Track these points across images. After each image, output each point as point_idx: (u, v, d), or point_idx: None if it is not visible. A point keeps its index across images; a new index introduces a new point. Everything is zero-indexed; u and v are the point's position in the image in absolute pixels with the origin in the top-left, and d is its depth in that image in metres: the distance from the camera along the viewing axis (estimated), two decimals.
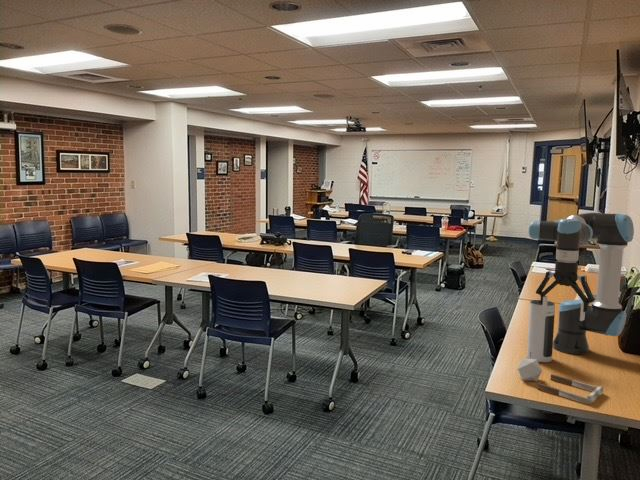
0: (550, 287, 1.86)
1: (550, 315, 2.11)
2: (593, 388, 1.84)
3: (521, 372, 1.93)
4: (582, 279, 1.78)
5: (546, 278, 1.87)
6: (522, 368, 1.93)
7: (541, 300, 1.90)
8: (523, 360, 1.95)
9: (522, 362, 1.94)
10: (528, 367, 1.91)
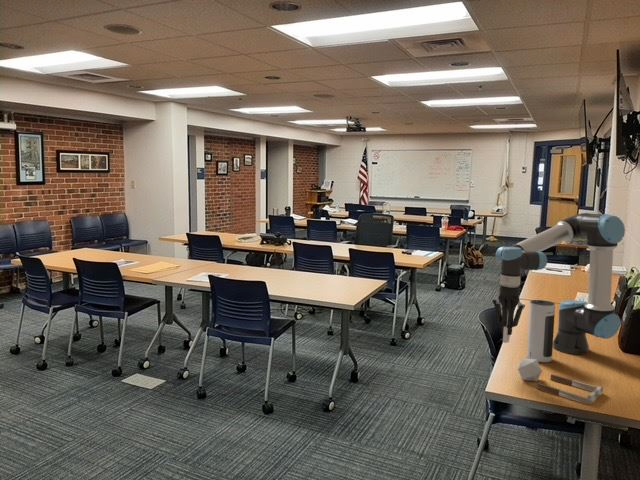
0: (503, 314, 1.99)
1: (550, 315, 2.11)
2: (593, 388, 1.84)
3: (521, 372, 1.93)
4: (520, 307, 1.94)
5: (496, 305, 2.01)
6: (522, 368, 1.93)
7: (502, 330, 2.01)
8: (523, 360, 1.95)
9: (522, 362, 1.94)
10: (528, 367, 1.91)
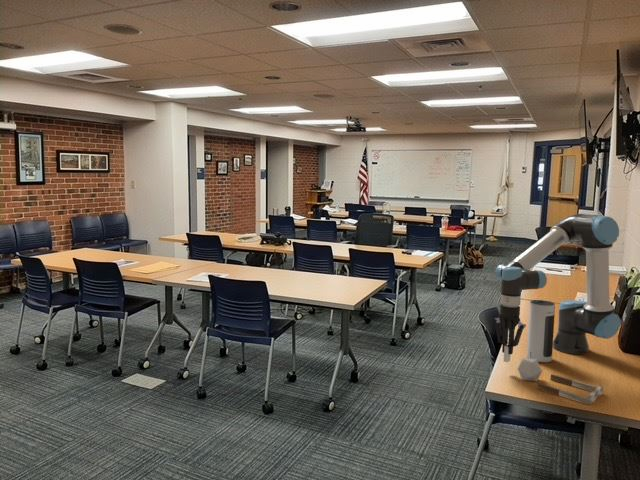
0: (504, 333, 2.00)
1: (550, 315, 2.11)
2: (593, 388, 1.84)
3: (521, 372, 1.93)
4: (520, 327, 1.95)
5: (496, 325, 2.02)
6: (522, 368, 1.93)
7: (503, 349, 2.01)
8: (523, 360, 1.95)
9: (522, 362, 1.94)
10: (528, 367, 1.91)
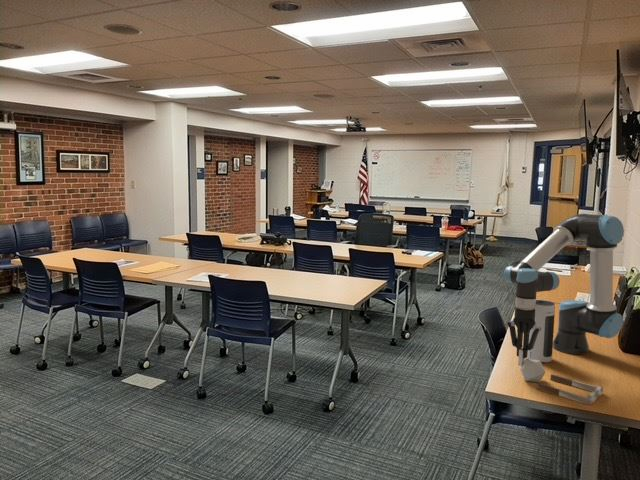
0: (518, 336, 1.95)
1: (550, 315, 2.11)
2: (593, 388, 1.84)
3: (524, 373, 1.92)
4: (536, 330, 1.90)
5: (511, 328, 1.98)
6: (525, 369, 1.92)
7: (517, 352, 1.97)
8: (526, 361, 1.94)
9: (525, 363, 1.94)
10: (531, 368, 1.90)
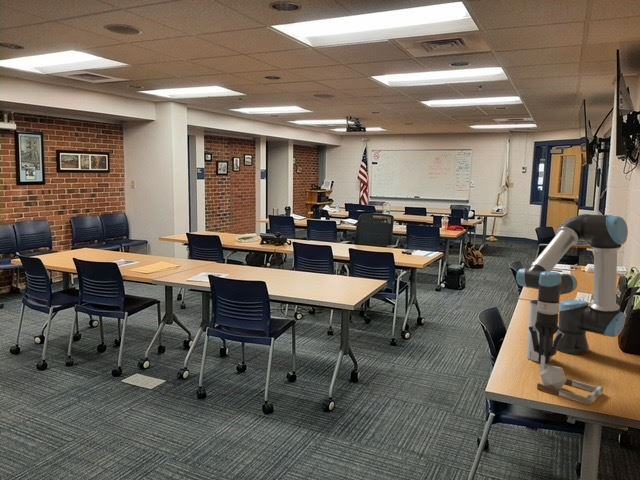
0: (541, 342, 1.89)
1: None
2: (593, 388, 1.84)
3: (542, 379, 1.87)
4: (559, 336, 1.84)
5: (532, 333, 1.91)
6: (543, 375, 1.86)
7: (539, 358, 1.91)
8: (547, 367, 1.88)
9: (545, 369, 1.88)
10: (549, 374, 1.84)
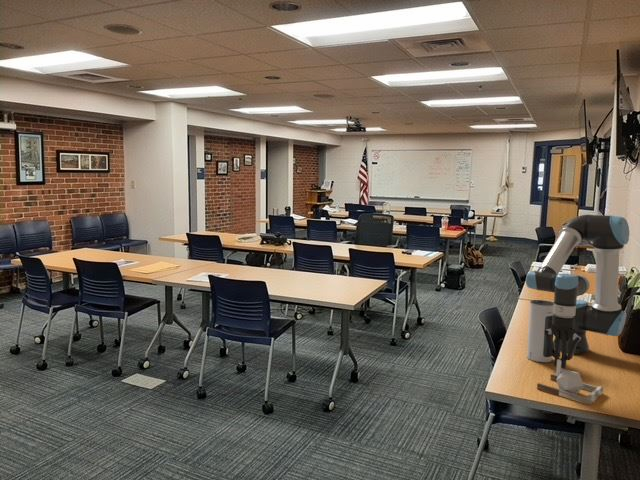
0: (557, 345, 1.85)
1: (550, 315, 2.11)
2: (593, 388, 1.84)
3: (558, 383, 1.82)
4: (576, 339, 1.80)
5: (548, 336, 1.87)
6: (559, 379, 1.82)
7: (555, 362, 1.86)
8: (563, 371, 1.84)
9: (561, 373, 1.83)
10: (565, 379, 1.80)
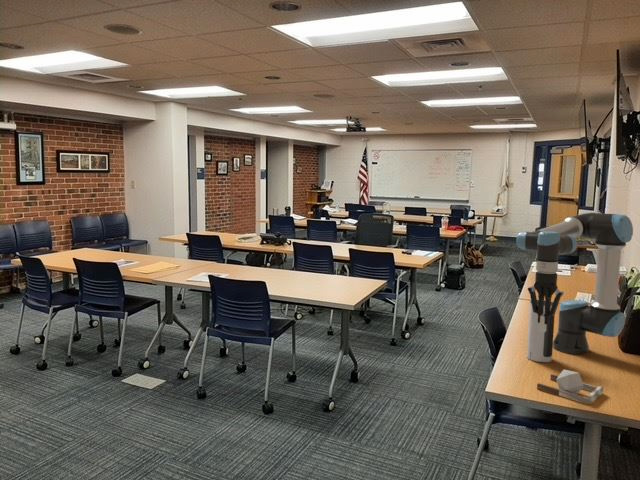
0: (540, 302, 1.89)
1: None
2: (593, 388, 1.84)
3: (558, 384, 1.82)
4: (558, 295, 1.83)
5: (531, 293, 1.91)
6: (559, 379, 1.82)
7: (538, 319, 1.90)
8: (563, 371, 1.84)
9: (561, 373, 1.83)
10: (565, 379, 1.80)
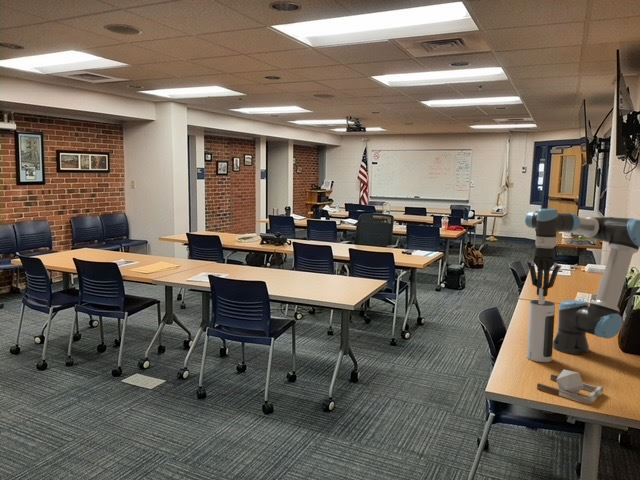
0: (539, 275, 2.00)
1: (550, 315, 2.11)
2: (593, 388, 1.84)
3: (558, 383, 1.82)
4: (556, 268, 1.95)
5: (531, 268, 2.02)
6: (559, 379, 1.82)
7: (537, 291, 2.02)
8: (563, 371, 1.84)
9: (561, 373, 1.83)
10: (565, 379, 1.80)
